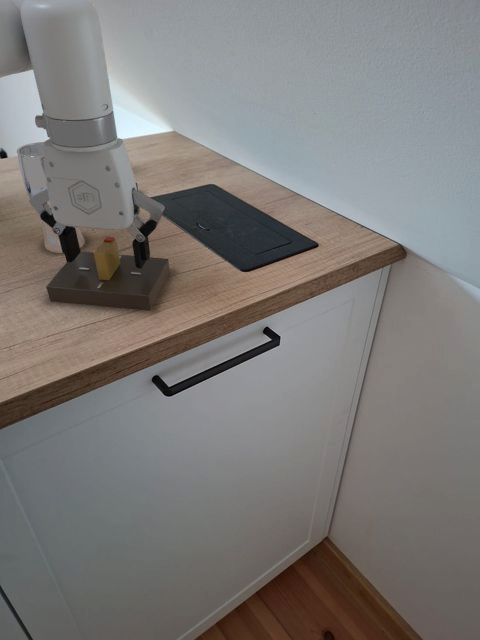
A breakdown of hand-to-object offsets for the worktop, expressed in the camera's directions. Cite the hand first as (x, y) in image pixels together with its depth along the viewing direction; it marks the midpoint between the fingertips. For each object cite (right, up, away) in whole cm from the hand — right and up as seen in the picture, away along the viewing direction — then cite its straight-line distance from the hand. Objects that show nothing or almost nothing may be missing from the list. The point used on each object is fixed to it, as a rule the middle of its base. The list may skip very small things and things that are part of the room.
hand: (107, 260), depth 67 cm
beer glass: (-11, +5, +12) cm, 17 cm away
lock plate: (0, -3, +3) cm, 4 cm away
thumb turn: (0, -1, +1) cm, 2 cm away
